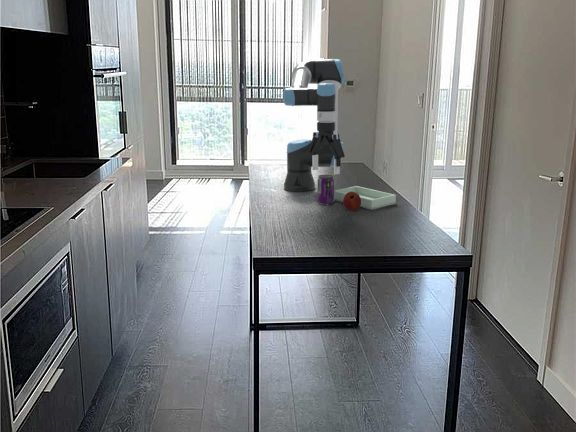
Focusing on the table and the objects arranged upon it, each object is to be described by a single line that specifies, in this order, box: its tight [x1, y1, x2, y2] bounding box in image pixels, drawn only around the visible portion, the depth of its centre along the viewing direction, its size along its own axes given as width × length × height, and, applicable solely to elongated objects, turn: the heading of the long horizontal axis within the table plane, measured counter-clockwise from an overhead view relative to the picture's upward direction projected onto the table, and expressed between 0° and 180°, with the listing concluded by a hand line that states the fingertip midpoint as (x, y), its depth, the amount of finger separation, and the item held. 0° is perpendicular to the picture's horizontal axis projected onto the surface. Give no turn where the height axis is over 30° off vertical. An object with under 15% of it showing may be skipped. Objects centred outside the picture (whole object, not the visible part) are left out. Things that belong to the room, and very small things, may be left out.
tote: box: [334, 185, 397, 211], centre depth 244 cm, size 24×15×4 cm, turn 38°
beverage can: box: [316, 174, 335, 206], centre depth 241 cm, size 7×7×12 cm
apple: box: [342, 192, 361, 212], centre depth 230 cm, size 7×8×8 cm
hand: (325, 172), depth 239 cm, fingers open, 13 cm apart
